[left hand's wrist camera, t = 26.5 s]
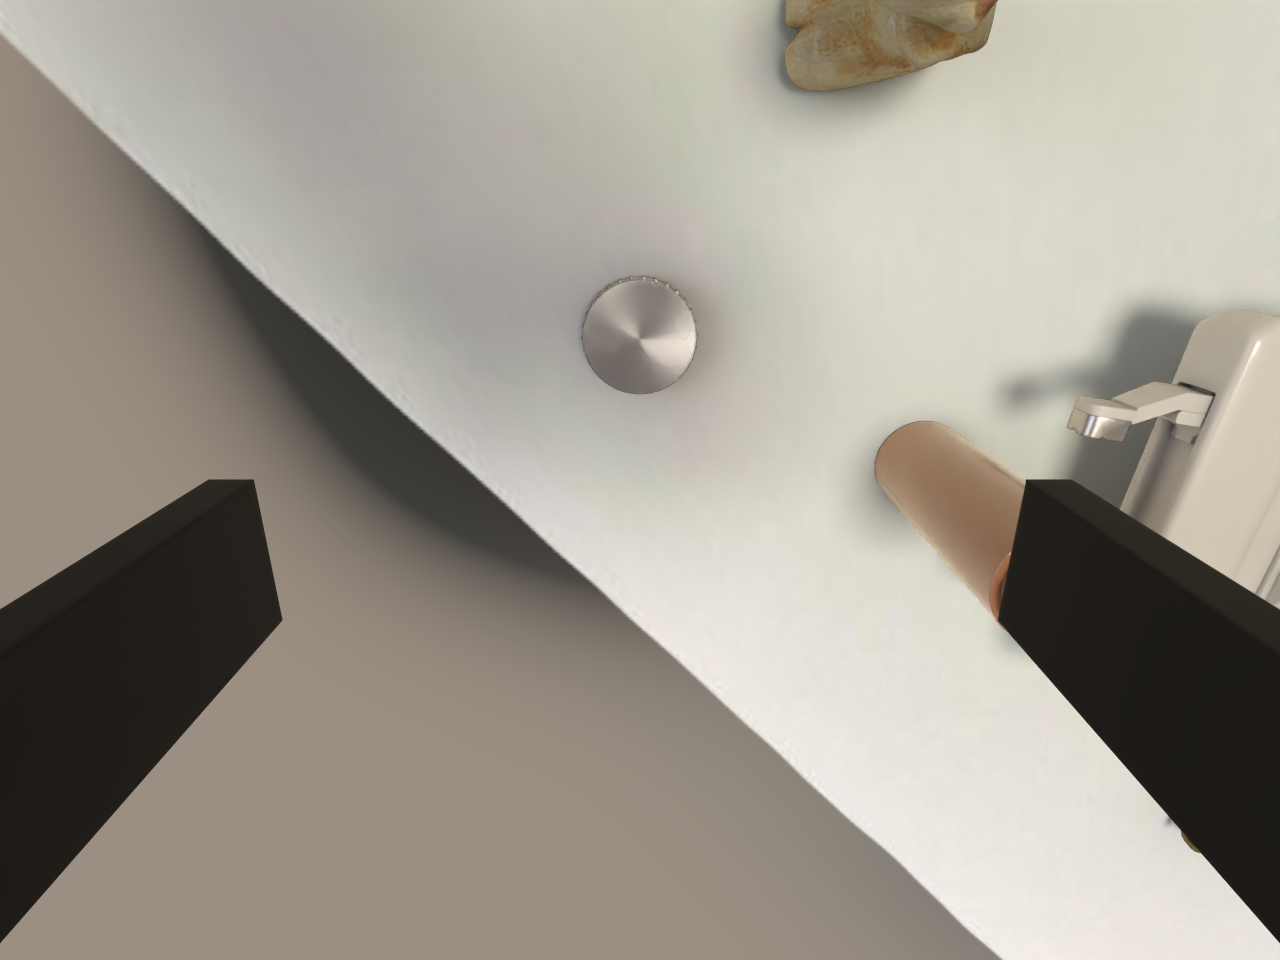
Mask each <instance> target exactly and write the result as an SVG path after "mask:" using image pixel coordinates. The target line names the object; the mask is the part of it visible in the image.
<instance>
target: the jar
mask: <svg viewBox="0 0 1280 960" xmlns="http://www.w3.org/2000/svg"><path fill="white" fill-rule="evenodd" d="M875 474H876V479H877V482H878V484H879V486H880V488H881V489H882V490H883V492H884V493H885V494H886V495H887V496H888V497H889V499H890V500H891V501H892V502H893V503H894V504H895V505H896V507H897V508H898V509H899V510H900V511H901V512H902V514H903V515H904V516H905V517H906V518H907V519H908V520H909V522H910V523H911V524H912V525H913V526H914V527H915V528H916V530H917V531H918V532H919V533H920V534H921V535H922V536H923V538H924V539H925V540H926V541H927V542H928V543H929V544H930V546H931V547H932V548H933V549H934V550H935V551H936V553H937V554H938V555H939V556H940V557H941V558H942V559H943V561H944V562H945V563H946V564H947V565H948V566H949V567H950V569H951V570H952V571H953V572H954V573H955V574H956V575H957V577H958V578H959V579H960V580H961V581H962V582H963V583H964V585H965V586H966V587H967V588H968V589H969V590H970V592H971V593H972V594H973V595H974V596H975V597H976V598H977V600H978V601H979V602H980V603H981V604H982V605H983V606H984V608H985V609H986V610H987V611H988V612H989V613H990V614H991V616H992V617H993V618H994V619H995V620H996V621H997V622H998V624H999V625H1000V626H1001V627H1002V628H1003V629H1004V630H1005V631H1007V630H1006V629H1005V628H1004V627H1003V626H1002V625H1001V624H1000V622H999V621H998V616H999V611H1000V606H1001V601H1002V596H1003V591H1004V586H1005V581H1006V576H1007V571H1008V566H1009V562H1010V557H1011V552H1012V547H1013V542H1014V537H1015V532H1016V527H1017V522H1018V517H1019V513H1020V508H1021V503H1022V498H1023V493H1024V488H1025V483H1026V481H1024V480H1023V479H1021V478H1020V477H1018V476H1017V475H1016V474H1014V473H1013V472H1011V471H1010V470H1008V469H1007V468H1006V467H1004V466H1003V465H1001V464H1000V463H998V462H997V461H996V460H994V459H993V458H991V457H990V456H988V455H987V454H986V453H984V452H983V451H981V450H980V449H978V448H977V447H975V446H974V445H973V444H971V443H970V442H968V441H967V440H965V439H964V438H963V437H961V436H960V435H958V434H957V433H955V432H954V431H953V430H951V429H950V428H948V427H947V426H945V425H943V424H940V423H937V422H931V421H920V422H914V423H911V424H908V425H906V426H903V427H901V428H900V429H898V430H897V431H895V432H894V433H892V434H891V435H890V436H889V437H888V438H887V440H886V441H885V442H884V443H883V445H882V446H881V448H880V450H879V452H878V455H877V458H876V463H875Z"/></svg>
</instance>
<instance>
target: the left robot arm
mask: <svg viewBox="0 0 1280 960" xmlns="http://www.w3.org/2000/svg"><path fill="white" fill-rule="evenodd" d="M281 621H282V616H281V611H280V606H279V601H278V596H277V591H276V586H275V581H274V577H273V572H272V566H271V562H270V557H269V552H268V547H267V542H266V537H265V532H264V527H263V522H262V518H261V513H260V508H259V503H258V498H257V493H256V488H255V483H254V480H207V481H206V482H204V483H202V484H201V485H199V486H198V487H196V488H194V489H193V490H191V491H190V492H188V493H186V494H185V495H183V496H182V497H180V498H178V499H177V500H175V501H174V502H172V503H170V504H169V505H167V506H165V507H164V508H162V509H161V510H159V511H157V512H156V513H154V514H153V515H151V516H149V517H148V518H146V519H145V520H143V521H141V522H140V523H138V524H137V525H135V526H133V527H132V528H130V529H129V530H127V531H125V532H124V533H122V534H120V535H119V536H117V537H116V538H114V539H112V540H111V541H109V542H108V543H106V544H105V545H103V546H101V547H100V548H98V549H96V550H95V551H93V552H92V553H90V554H88V555H87V556H85V557H84V558H82V559H80V560H79V561H77V562H76V563H74V564H72V565H71V566H69V567H67V568H66V569H64V570H63V571H61V572H59V573H58V574H56V575H55V576H53V577H51V578H50V579H48V580H47V581H45V582H43V583H42V584H40V585H39V586H37V587H35V588H34V589H32V590H31V591H29V592H27V593H26V594H24V595H23V596H21V597H19V598H18V599H16V600H14V601H13V602H11V603H10V604H8V605H7V606H5V607H3V608H2V609H0V943H1V942H2V940H3V939H4V938H5V937H6V936H7V935H8V934H9V932H10V931H11V930H12V929H13V928H14V927H15V925H16V924H17V923H18V922H19V921H20V920H21V919H22V917H23V916H24V915H25V914H26V913H27V912H28V911H29V909H30V908H31V907H32V906H33V905H34V904H35V903H36V901H37V900H38V899H39V898H40V897H41V896H42V895H43V893H44V892H45V891H46V890H47V889H48V888H49V887H50V885H51V884H52V883H53V882H54V881H55V880H56V879H57V877H58V876H59V875H60V874H61V873H62V872H63V871H64V869H65V868H66V867H67V866H68V865H69V864H70V863H71V861H72V860H73V859H74V858H75V857H76V856H77V855H78V853H79V852H80V851H81V850H82V849H83V848H84V847H85V845H86V844H87V843H88V842H89V841H90V840H91V839H92V837H93V836H94V835H95V834H96V833H97V832H98V831H99V829H100V828H101V827H102V826H103V825H104V824H105V823H106V821H107V820H108V819H109V818H110V817H111V816H112V815H113V813H114V812H115V811H116V810H117V809H118V808H119V807H120V805H121V804H122V803H123V802H124V801H125V800H126V799H127V797H128V796H129V795H130V794H131V793H132V792H133V791H134V789H135V788H136V787H137V786H138V785H139V784H140V782H141V781H142V780H143V779H144V778H145V777H146V776H147V775H148V773H149V772H150V771H151V770H152V769H153V768H154V766H155V765H156V764H157V763H158V762H159V761H160V760H161V758H162V757H163V756H164V755H165V754H166V753H167V752H168V751H169V749H170V748H171V747H172V746H173V745H174V744H175V743H176V741H177V740H178V739H179V738H180V737H181V736H182V734H183V733H184V732H185V731H186V730H187V729H188V728H189V726H190V725H191V724H192V723H193V722H194V721H195V720H196V718H197V717H198V716H199V715H200V714H201V713H202V712H203V710H204V709H205V708H206V707H207V706H208V705H209V704H210V702H211V701H212V700H213V699H214V698H215V697H216V696H217V694H218V693H219V692H220V691H221V690H222V689H223V688H224V686H225V685H226V684H227V683H228V682H229V681H230V680H231V678H232V677H233V676H234V675H235V674H236V673H237V672H238V670H239V669H240V668H241V667H242V666H243V665H244V664H245V662H246V661H247V660H248V659H249V658H250V657H251V656H252V654H253V653H254V652H255V651H256V650H257V649H258V648H259V646H260V645H261V644H262V643H263V642H264V641H265V640H266V638H267V637H268V636H269V635H270V634H271V633H272V632H273V630H274V629H275V628H276V627H277V626H278V625H279V624H280V622H281ZM998 621H999V622H1000V624H1001V625H1002V626H1003V627H1004V628H1005V629H1006V630H1007V632H1008V633H1009V634H1010V635H1011V636H1012V637H1013V638H1014V640H1015V641H1016V642H1017V643H1018V644H1019V645H1020V646H1021V648H1022V649H1023V650H1024V651H1025V652H1026V653H1027V654H1028V656H1029V657H1030V658H1031V659H1032V660H1033V661H1034V662H1035V664H1036V665H1037V666H1038V667H1039V668H1040V669H1041V670H1042V672H1043V673H1044V674H1045V675H1046V676H1047V677H1048V678H1049V680H1050V681H1051V682H1052V683H1053V684H1054V685H1055V686H1056V688H1057V689H1058V690H1059V691H1060V692H1061V693H1062V694H1063V696H1064V697H1065V698H1066V699H1067V700H1068V701H1069V702H1070V704H1071V705H1072V706H1073V707H1074V708H1075V709H1076V710H1077V712H1078V713H1079V714H1080V715H1081V716H1082V717H1083V718H1084V720H1085V721H1086V722H1087V723H1088V724H1089V725H1090V727H1091V728H1092V729H1093V730H1094V731H1095V732H1096V733H1097V735H1098V736H1099V737H1100V738H1101V739H1102V740H1103V741H1104V743H1105V744H1106V745H1107V746H1108V747H1109V748H1110V749H1111V751H1112V752H1113V753H1114V754H1115V755H1116V756H1117V757H1118V759H1119V760H1120V761H1121V762H1122V763H1123V764H1124V765H1125V767H1126V768H1127V769H1128V770H1129V771H1130V772H1131V773H1132V775H1133V776H1134V777H1135V778H1136V779H1137V780H1138V781H1139V783H1140V784H1141V785H1142V786H1143V787H1144V788H1145V789H1146V791H1147V792H1148V793H1149V794H1150V795H1151V796H1152V797H1153V799H1154V800H1155V801H1156V802H1157V803H1158V804H1159V805H1160V807H1161V808H1162V809H1163V810H1164V811H1165V812H1166V813H1167V815H1168V816H1169V817H1170V818H1171V819H1172V820H1173V821H1174V823H1175V824H1176V825H1177V826H1178V827H1179V828H1180V829H1181V831H1182V832H1183V833H1184V834H1185V835H1186V836H1187V837H1188V839H1189V840H1190V841H1191V842H1192V843H1193V844H1194V845H1195V847H1196V848H1197V849H1198V850H1199V851H1200V852H1201V853H1202V855H1203V856H1204V857H1205V858H1206V859H1207V860H1208V861H1209V863H1210V864H1211V865H1212V866H1213V867H1214V868H1215V869H1216V871H1217V872H1218V873H1219V874H1220V875H1221V876H1222V878H1223V879H1224V880H1225V881H1226V882H1227V883H1228V884H1229V886H1230V887H1231V888H1232V889H1233V890H1234V891H1235V892H1236V894H1237V895H1238V896H1239V897H1240V898H1241V899H1242V900H1243V902H1244V903H1245V904H1246V905H1247V906H1248V907H1249V908H1250V910H1251V911H1252V912H1253V913H1254V914H1255V915H1256V916H1257V918H1258V919H1259V920H1260V921H1261V922H1262V923H1263V924H1264V926H1265V927H1266V928H1267V929H1268V930H1269V931H1270V932H1271V934H1272V935H1273V936H1274V937H1275V938H1276V939H1277V940H1278V942H1279V943H1280V609H1278V608H1277V607H1275V606H1274V605H1272V604H1270V603H1269V602H1267V601H1266V600H1264V599H1262V598H1261V597H1259V596H1258V595H1256V594H1254V593H1253V592H1251V591H1250V590H1248V589H1246V588H1245V587H1243V586H1241V585H1240V584H1238V583H1237V582H1235V581H1233V580H1232V579H1230V578H1229V577H1227V576H1225V575H1224V574H1222V573H1221V572H1219V571H1217V570H1216V569H1214V568H1213V567H1211V566H1209V565H1208V564H1206V563H1205V562H1203V561H1201V560H1200V559H1198V558H1196V557H1195V556H1193V555H1192V554H1190V553H1188V552H1187V551H1185V550H1184V549H1182V548H1180V547H1179V546H1177V545H1176V544H1174V543H1172V542H1171V541H1169V540H1168V539H1166V538H1164V537H1163V536H1161V535H1160V534H1158V533H1156V532H1155V531H1153V530H1151V529H1150V528H1148V527H1147V526H1145V525H1143V524H1142V523H1140V522H1139V521H1137V520H1135V519H1134V518H1132V517H1131V516H1129V515H1127V514H1126V513H1124V512H1123V511H1121V510H1119V509H1118V508H1116V507H1115V506H1113V505H1111V504H1110V503H1108V502H1107V501H1105V500H1103V499H1102V498H1100V497H1098V496H1097V495H1095V494H1094V493H1092V492H1090V491H1089V490H1087V489H1086V488H1084V487H1082V486H1081V485H1079V484H1078V483H1076V482H1074V481H1073V480H1026V483H1025V488H1024V493H1023V498H1022V503H1021V508H1020V513H1019V517H1018V522H1017V527H1016V532H1015V537H1014V542H1013V547H1012V552H1011V557H1010V562H1009V566H1008V571H1007V576H1006V581H1005V586H1004V591H1003V596H1002V601H1001V606H1000V611H999V616H998Z"/></svg>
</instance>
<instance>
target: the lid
mask: <svg viewBox="0 0 1280 960" xmlns="http://www.w3.org/2000/svg"><path fill="white" fill-rule="evenodd" d="M598 295H599V296H598V297H597V298H596V300H595V301H594V300H593V301H592V303H591V305H592V306H591V308H590V310H589V311H587V313H586V315H585V316H587V317H586V319H585V322H584V324H583V326H582V328H583V336H582V340H583V346H584V352H585V354H586V357H587V360H588V363H589V364H590V366H591V367H592V369H593V370H594V372H595V373H596V374H597V375H598V376H599V377H600V378H601V379H602V380H603V381H604V382H605V383H607V384H608V385H610V386H611V387H613V388H615V389H617V390H620V391H622V392H626V393H631V394H648V393H653V392H657V391H660V390H662V389H664V388H666V387H668V386H670V385H671V384H673V383H674V382H675V381H677V380H678V379H679V378H680V377H681V376H682V375H683V373H684V372H685V371H686V370H687V368H688V366H689V364H690V363H691V360H692V359H693V355H694V352H695V349H696V337H698V335H697V332H696V326H695V325H696V321H695V319H694V318H693V316H692V313H693V312H692V310H691V308H690V309H689V307H688V306H687V304H686V302H687V301H686V299H685V298H682V297H681V295H680V294H679V292H678V290H677V289H676V290H674V289H673V288H672V287H670V286H669V284H668V283H667V282H666V283H664V282H661V281H659V280H657V278H655V279H652V278H647V277H645V276H644V275H643V277H633V276H631V278H627V279H623V280H622V279H619V281H618V282H616V283H614V284H612V285H611V284H609V285H608V287H607V288H606V289H605V290H604V291H603V292H601V291H600V292H599V294H598Z"/></svg>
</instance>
